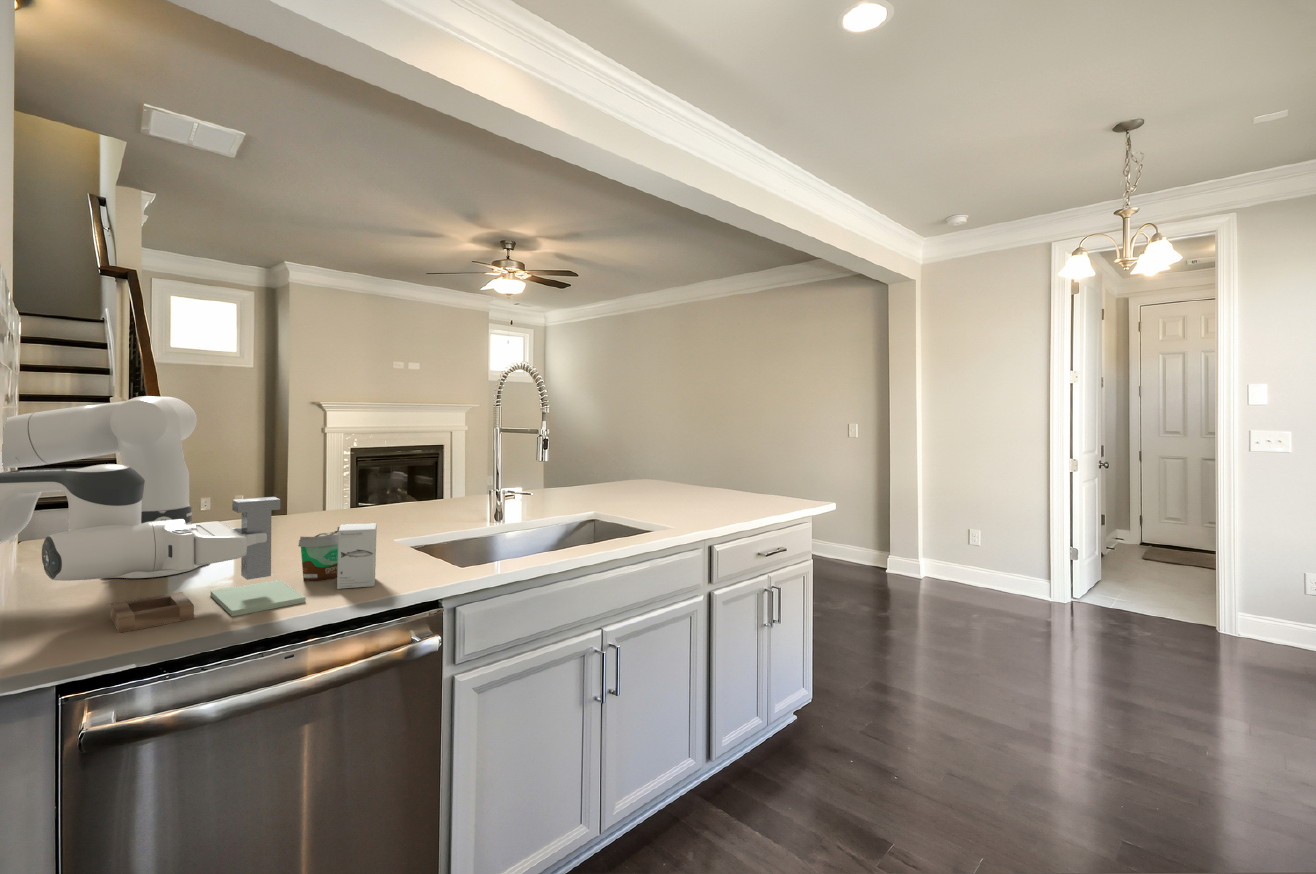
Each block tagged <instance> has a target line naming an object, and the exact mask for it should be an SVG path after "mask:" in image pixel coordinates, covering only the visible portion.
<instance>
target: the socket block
mask: <svg viewBox="0 0 1316 874" xmlns="http://www.w3.org/2000/svg"><path fill="white" fill-rule="evenodd" d="M110 618H111V621H112V623H113V624H114V626H115V628H116V630H117V632H118V634H121V633H126V632H130V631H131V632H132V631H136V630H142V629H147V628H152V627H157V626H162V625H168V624H173V623H178V622H184V621H188V620H189V621H190V620H194V619H195V604H194V603H193V602H192V601H191V600H190V599H189V598H188V597H187V596H186V594H184V592H183V591H179V592H173V593H172V592H171V593H166V594H161V595H154V596H150V597H149V596H148V597H143V598H142V597H141V598H137V599H130V600H125V601H118V602H117V601H116V602H111V603H110Z"/></svg>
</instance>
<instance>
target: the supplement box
mask: <svg viewBox="0 0 1316 874" xmlns="http://www.w3.org/2000/svg"><path fill="white" fill-rule="evenodd" d="M339 527H340V528H339V532H338V572H337V578H336V582H337V583H336V589H337V590H342V589H351V588H354V589H355V588H372V587H375V586H376V565H377V564H376V563H377V530H378V528H377V527H378V523H376V522H375V523H372V522H371V523H346V524H345V523H344V524H340V525H339Z"/></svg>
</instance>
